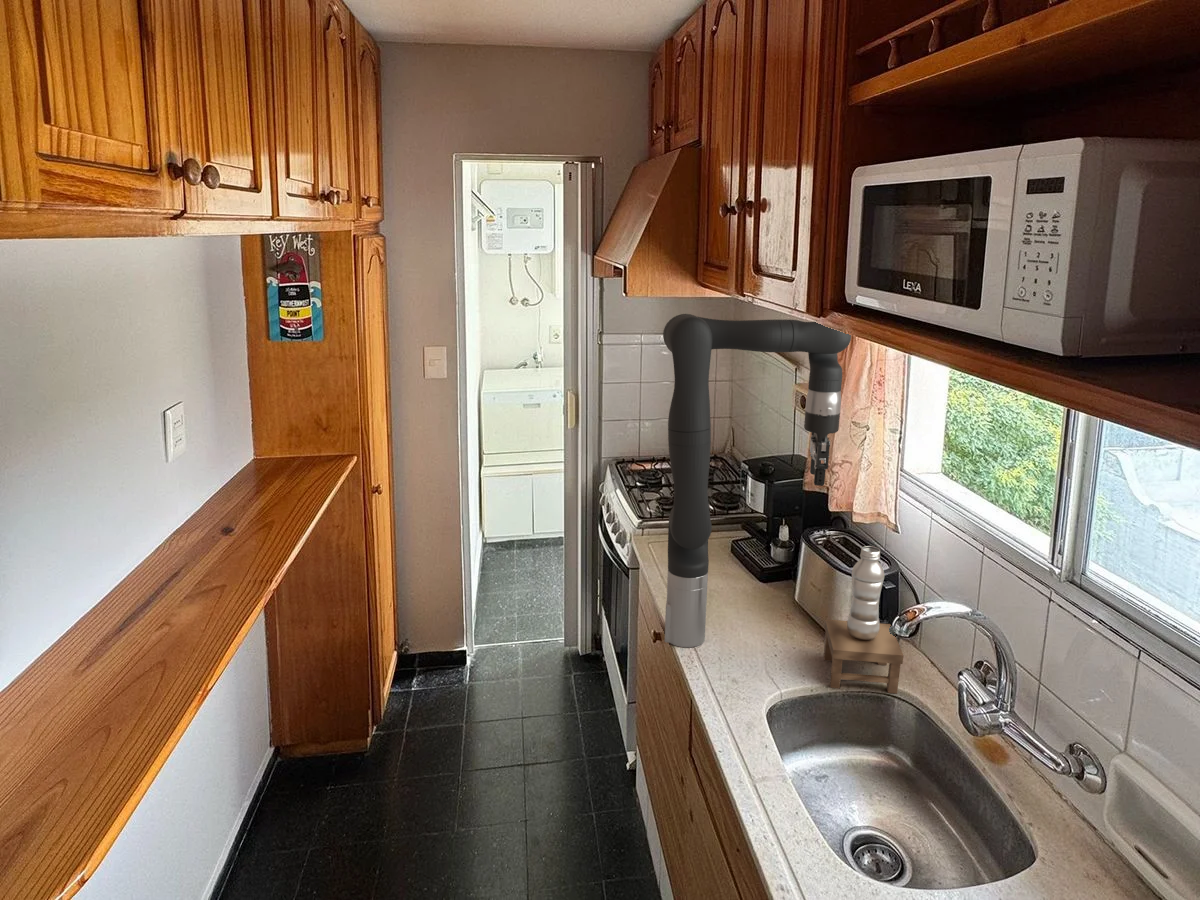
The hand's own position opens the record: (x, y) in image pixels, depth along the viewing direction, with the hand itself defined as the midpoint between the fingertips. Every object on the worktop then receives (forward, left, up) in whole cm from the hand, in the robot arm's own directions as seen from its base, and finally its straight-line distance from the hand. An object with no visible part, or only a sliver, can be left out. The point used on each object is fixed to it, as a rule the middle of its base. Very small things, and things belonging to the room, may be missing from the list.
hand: (816, 479), depth 188 cm
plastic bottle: (+10, -18, -29) cm, 36 cm away
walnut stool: (+10, -18, -38) cm, 43 cm away
